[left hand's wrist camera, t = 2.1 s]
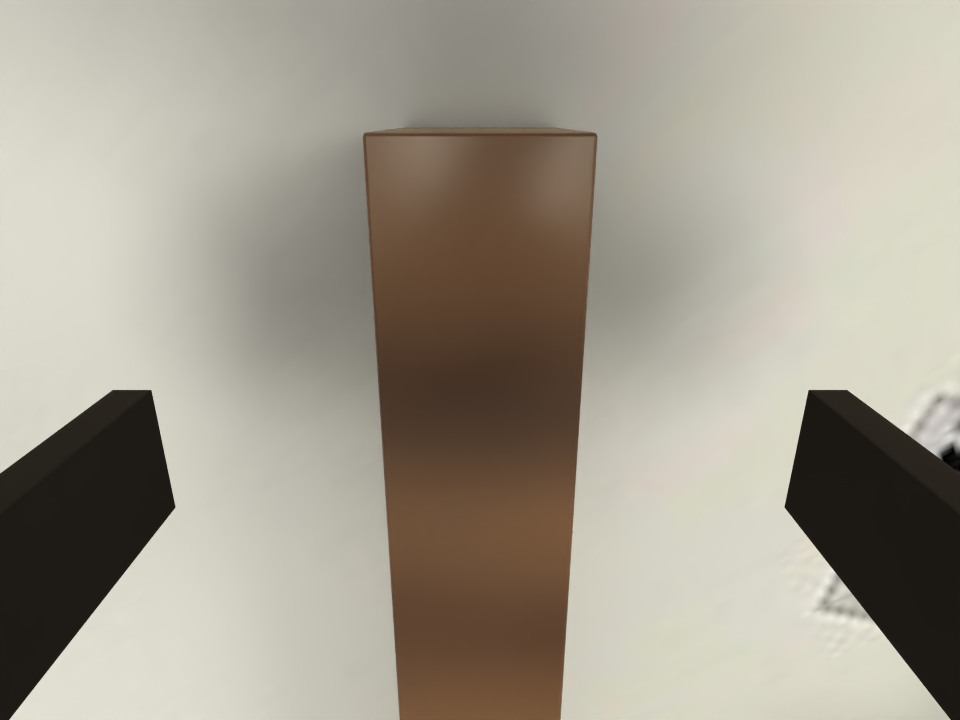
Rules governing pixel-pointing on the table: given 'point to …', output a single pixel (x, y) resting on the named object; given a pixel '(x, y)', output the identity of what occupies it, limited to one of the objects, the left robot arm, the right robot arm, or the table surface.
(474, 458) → the beam
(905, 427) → the table surface
